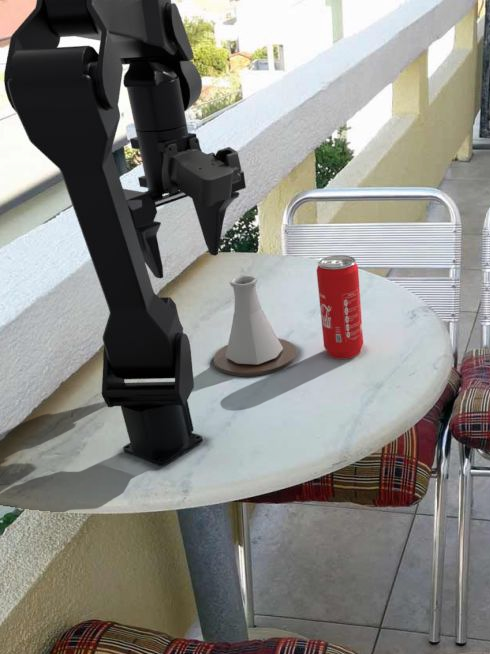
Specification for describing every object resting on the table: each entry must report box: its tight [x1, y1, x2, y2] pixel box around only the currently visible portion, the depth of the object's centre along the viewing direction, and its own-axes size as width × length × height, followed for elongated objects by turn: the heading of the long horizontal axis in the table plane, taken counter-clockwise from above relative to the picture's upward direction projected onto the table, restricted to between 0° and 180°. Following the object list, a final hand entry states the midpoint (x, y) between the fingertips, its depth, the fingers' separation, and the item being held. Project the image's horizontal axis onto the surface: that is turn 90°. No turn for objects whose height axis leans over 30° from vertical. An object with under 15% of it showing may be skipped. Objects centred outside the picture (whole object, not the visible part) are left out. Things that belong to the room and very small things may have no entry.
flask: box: [226, 275, 283, 365], centre depth 110 cm, size 7×7×10 cm
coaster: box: [213, 338, 298, 377], centre depth 113 cm, size 11×11×1 cm
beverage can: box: [316, 254, 364, 360], centre depth 110 cm, size 5×5×12 cm
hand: (187, 265), depth 105 cm, fingers open, 9 cm apart
